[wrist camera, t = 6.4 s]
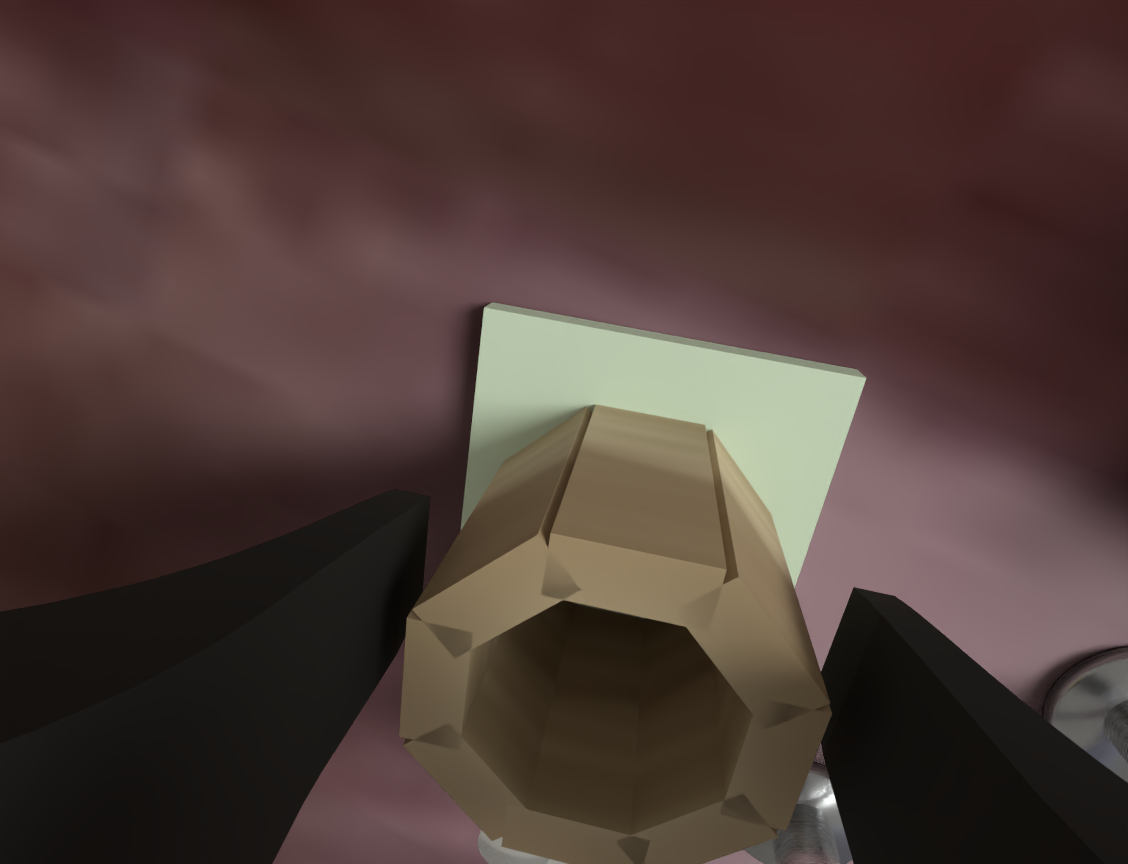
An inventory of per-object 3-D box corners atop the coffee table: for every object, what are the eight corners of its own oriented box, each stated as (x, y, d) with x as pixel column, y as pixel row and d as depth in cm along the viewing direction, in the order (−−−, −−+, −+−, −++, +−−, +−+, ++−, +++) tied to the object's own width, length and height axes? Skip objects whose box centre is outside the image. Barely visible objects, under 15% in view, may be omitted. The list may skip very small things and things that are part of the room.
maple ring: (726, 672, 14) (754, 911, 9) (482, 618, 14) (393, 818, 10) (796, 441, 12) (876, 600, 7) (509, 387, 12) (414, 504, 8)
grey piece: (1069, 927, 16) (1185, 1139, 12) (473, 777, 17) (422, 929, 14) (1253, 666, 13) (1477, 849, 9) (509, 508, 14) (456, 614, 10)
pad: (757, 664, 14) (761, 683, 14) (460, 597, 15) (452, 612, 14) (857, 369, 12) (866, 378, 11) (492, 302, 12) (484, 307, 12)
